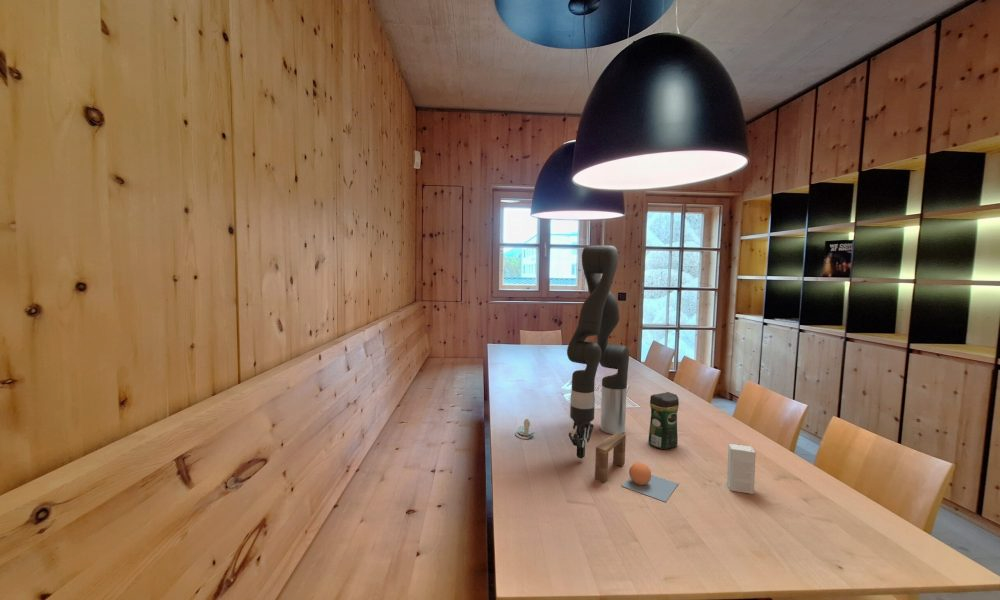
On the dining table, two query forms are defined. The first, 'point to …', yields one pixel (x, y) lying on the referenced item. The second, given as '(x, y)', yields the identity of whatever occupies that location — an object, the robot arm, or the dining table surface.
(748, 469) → the skincare box
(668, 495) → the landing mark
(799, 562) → the dining table surface
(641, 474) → the ball
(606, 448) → the bridge
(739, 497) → the dining table surface
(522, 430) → the pacifier
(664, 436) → the coffee jar
